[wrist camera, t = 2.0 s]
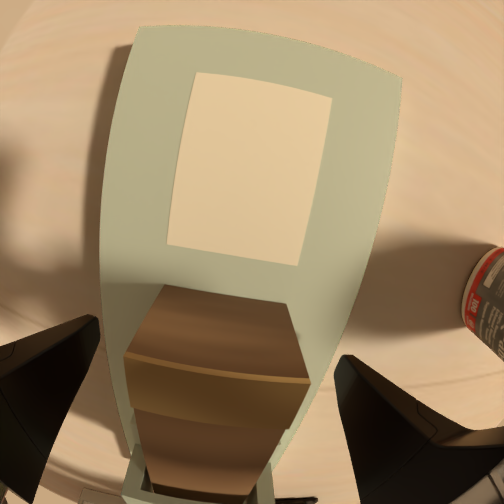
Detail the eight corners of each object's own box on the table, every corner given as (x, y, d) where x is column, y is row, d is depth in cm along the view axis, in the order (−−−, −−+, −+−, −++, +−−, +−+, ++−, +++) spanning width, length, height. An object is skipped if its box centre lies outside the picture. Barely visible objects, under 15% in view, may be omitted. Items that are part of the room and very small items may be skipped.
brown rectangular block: (237, 460, 13) (237, 513, 9) (166, 450, 13) (156, 503, 9) (286, 303, 10) (311, 383, 6) (164, 284, 9) (122, 356, 5)
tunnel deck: (257, 478, 17) (262, 542, 10) (141, 461, 16) (126, 524, 10) (384, 86, 9) (500, 41, 2) (150, 41, 8) (74, -50, 1)
